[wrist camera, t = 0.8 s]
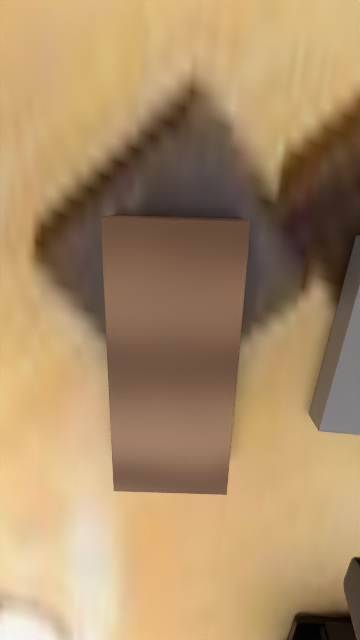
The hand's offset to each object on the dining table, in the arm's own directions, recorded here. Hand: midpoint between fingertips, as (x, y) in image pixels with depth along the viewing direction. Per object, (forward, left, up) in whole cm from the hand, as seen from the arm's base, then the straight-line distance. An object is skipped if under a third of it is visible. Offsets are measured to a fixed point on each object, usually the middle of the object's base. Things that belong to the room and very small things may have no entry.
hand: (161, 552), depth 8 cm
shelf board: (0, 0, -11) cm, 11 cm away
